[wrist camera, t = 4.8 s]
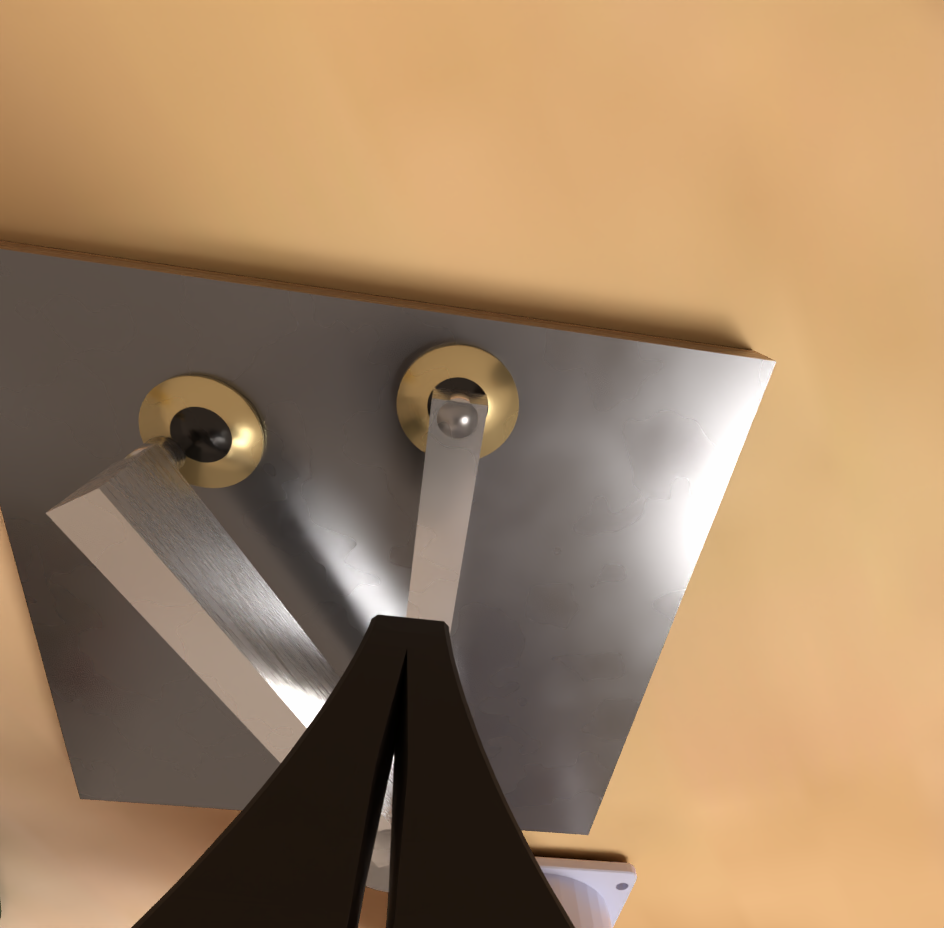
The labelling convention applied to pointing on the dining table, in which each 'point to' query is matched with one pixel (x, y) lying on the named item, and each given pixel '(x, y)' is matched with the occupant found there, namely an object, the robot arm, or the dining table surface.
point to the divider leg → (206, 601)
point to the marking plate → (364, 505)
